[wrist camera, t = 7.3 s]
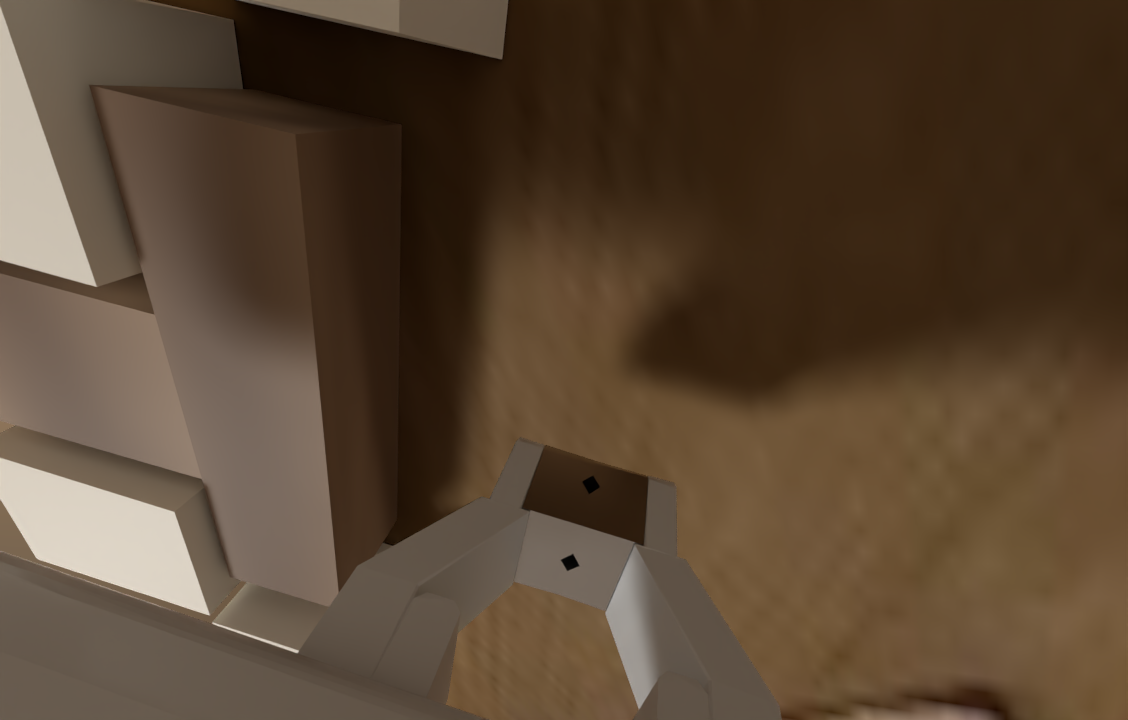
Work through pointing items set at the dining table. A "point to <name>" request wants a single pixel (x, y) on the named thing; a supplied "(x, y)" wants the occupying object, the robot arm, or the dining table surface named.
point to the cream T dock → (107, 253)
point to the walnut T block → (236, 325)
